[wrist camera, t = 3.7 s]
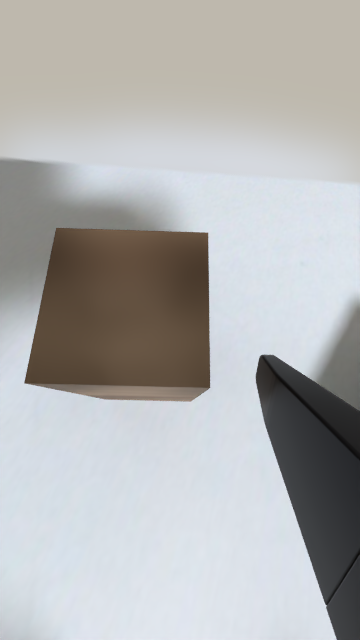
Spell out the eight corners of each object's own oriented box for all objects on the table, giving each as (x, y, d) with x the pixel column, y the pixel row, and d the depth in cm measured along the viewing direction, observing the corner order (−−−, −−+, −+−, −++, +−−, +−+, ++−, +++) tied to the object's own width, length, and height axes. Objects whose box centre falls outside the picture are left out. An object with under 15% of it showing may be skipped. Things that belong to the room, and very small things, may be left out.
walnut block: (190, 401, 18) (209, 387, 8) (105, 399, 17) (24, 383, 8) (191, 320, 19) (208, 232, 10) (114, 318, 19) (56, 228, 10)
